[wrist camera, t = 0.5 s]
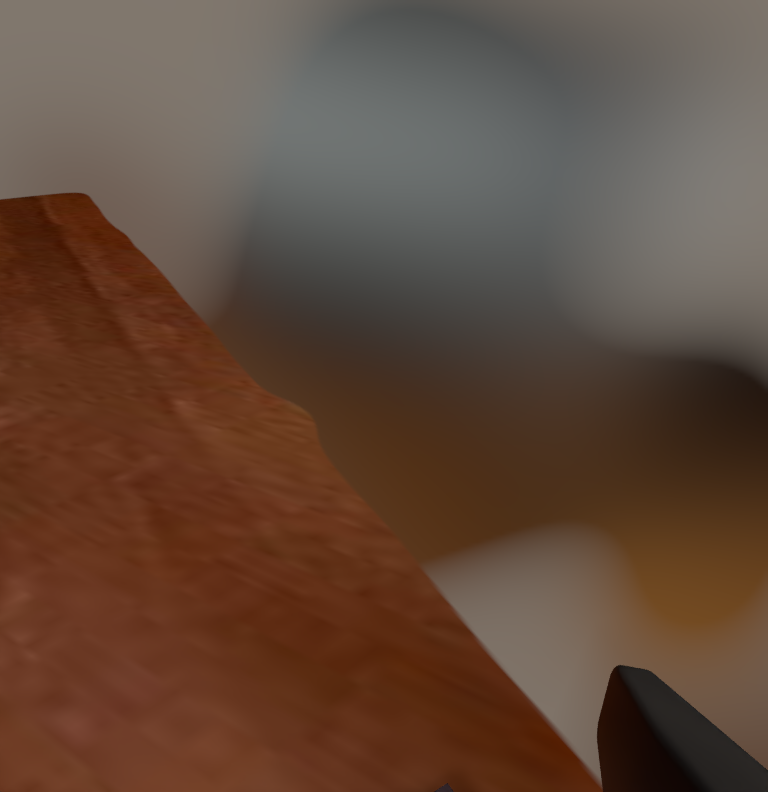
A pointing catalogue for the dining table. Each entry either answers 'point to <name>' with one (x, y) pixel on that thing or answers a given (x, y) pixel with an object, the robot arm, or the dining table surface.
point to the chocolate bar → (445, 788)
